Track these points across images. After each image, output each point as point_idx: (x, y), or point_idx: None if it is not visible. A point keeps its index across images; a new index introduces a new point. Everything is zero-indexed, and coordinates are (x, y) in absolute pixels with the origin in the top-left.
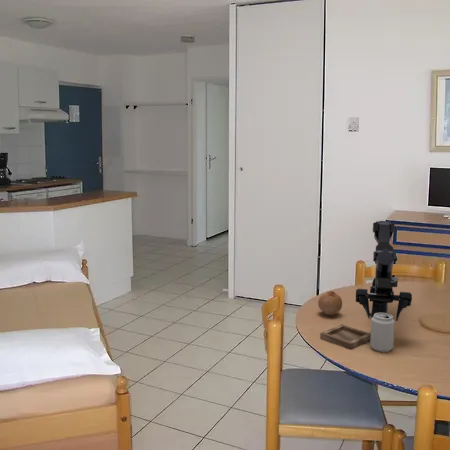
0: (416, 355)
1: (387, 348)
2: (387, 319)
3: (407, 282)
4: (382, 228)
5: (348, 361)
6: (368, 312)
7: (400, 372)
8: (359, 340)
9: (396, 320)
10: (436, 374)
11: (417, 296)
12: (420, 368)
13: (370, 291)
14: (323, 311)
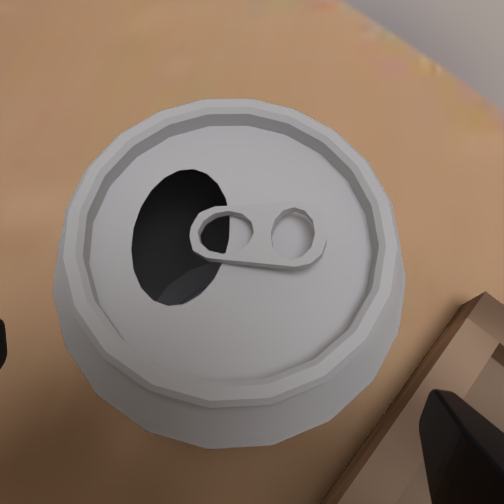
0: (4, 245)
1: (202, 260)
2: (194, 115)
3: None
4: None
5: (463, 135)
6: (494, 443)
7: (193, 39)
8: (418, 386)
9: (2, 334)
10: (8, 29)
11: None
12: (64, 81)
13: None
14: None
